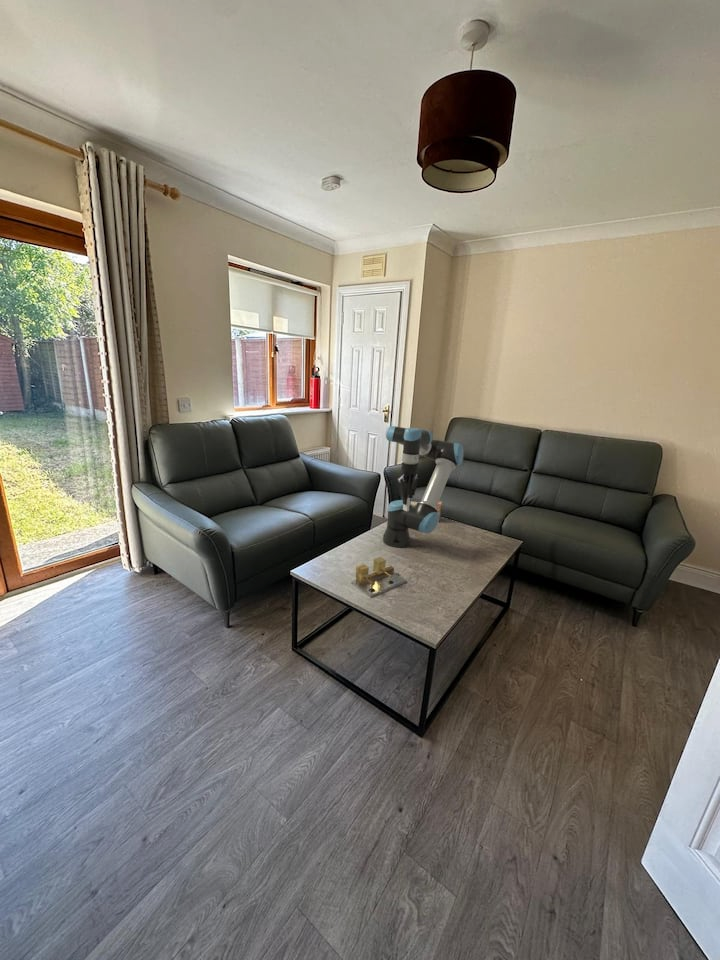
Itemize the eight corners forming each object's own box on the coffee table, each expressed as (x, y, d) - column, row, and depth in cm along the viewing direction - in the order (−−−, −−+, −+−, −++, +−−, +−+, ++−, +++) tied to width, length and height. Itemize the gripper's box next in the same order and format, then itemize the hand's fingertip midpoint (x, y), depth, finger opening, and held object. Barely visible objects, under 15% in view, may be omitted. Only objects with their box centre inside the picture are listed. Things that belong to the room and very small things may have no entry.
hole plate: (351, 583, 171) (351, 581, 171) (386, 569, 184) (386, 567, 184) (370, 597, 162) (370, 595, 162) (405, 582, 175) (405, 580, 174)
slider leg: (372, 574, 176) (373, 559, 174) (379, 571, 179) (380, 556, 177) (387, 584, 169) (388, 568, 167) (394, 581, 172) (395, 565, 169)
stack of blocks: (405, 517, 249) (407, 499, 245) (407, 513, 255) (408, 496, 251) (439, 522, 243) (441, 504, 239) (440, 519, 249) (442, 501, 245)
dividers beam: (354, 582, 170) (355, 566, 168) (389, 569, 183) (390, 553, 181) (368, 593, 163) (369, 576, 161) (404, 578, 176) (405, 562, 173)
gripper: (405, 465, 171) (401, 515, 178) (425, 462, 179) (421, 510, 186) (394, 462, 176) (390, 510, 183) (414, 458, 184) (409, 505, 191)
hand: (405, 510), depth 184 cm, fingers closed
